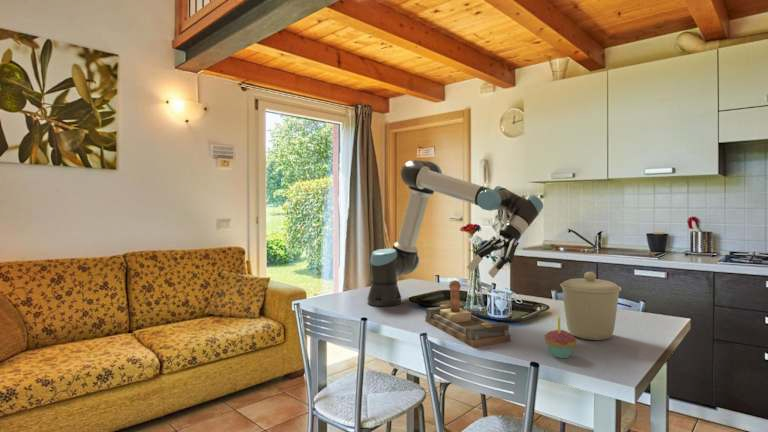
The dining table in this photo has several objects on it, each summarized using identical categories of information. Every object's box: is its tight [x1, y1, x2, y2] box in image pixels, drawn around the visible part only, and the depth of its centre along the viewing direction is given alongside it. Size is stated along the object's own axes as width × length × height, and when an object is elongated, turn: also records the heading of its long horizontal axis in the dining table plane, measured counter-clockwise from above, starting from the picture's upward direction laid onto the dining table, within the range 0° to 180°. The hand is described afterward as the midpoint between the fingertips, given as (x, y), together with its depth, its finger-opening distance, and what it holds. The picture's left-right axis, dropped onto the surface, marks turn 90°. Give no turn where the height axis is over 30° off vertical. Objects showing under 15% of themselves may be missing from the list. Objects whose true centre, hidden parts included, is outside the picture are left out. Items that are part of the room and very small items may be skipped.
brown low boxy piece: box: [424, 304, 512, 348], centre depth 151 cm, size 32×14×6 cm, turn 22°
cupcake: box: [544, 315, 577, 359], centre depth 126 cm, size 9×8×12 cm
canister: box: [559, 271, 622, 341], centre depth 143 cm, size 18×18×21 cm
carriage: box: [440, 280, 472, 323], centre depth 157 cm, size 8×8×14 cm
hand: (479, 272), depth 160 cm, fingers open, 13 cm apart
